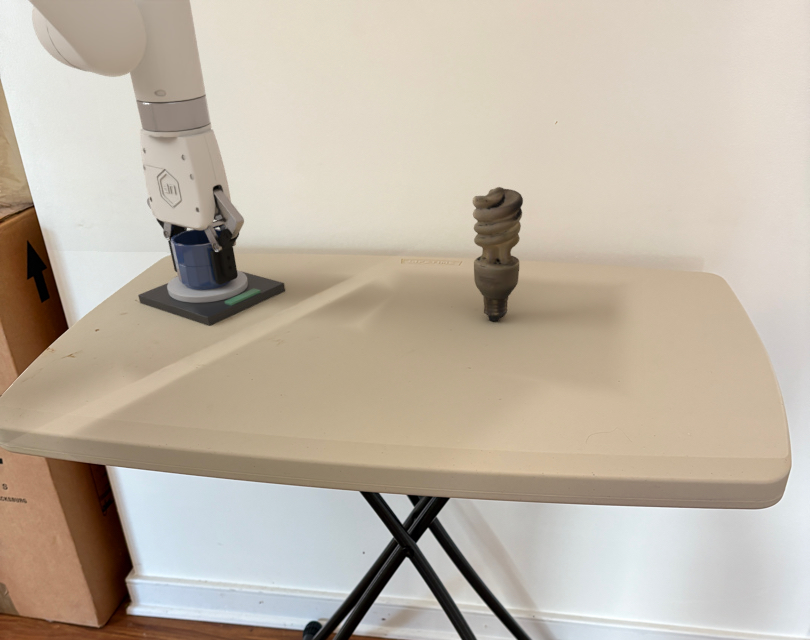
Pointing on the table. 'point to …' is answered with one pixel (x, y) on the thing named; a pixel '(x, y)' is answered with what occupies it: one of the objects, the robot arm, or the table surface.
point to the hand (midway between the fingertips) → (206, 273)
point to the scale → (212, 298)
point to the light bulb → (497, 248)
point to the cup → (194, 259)
